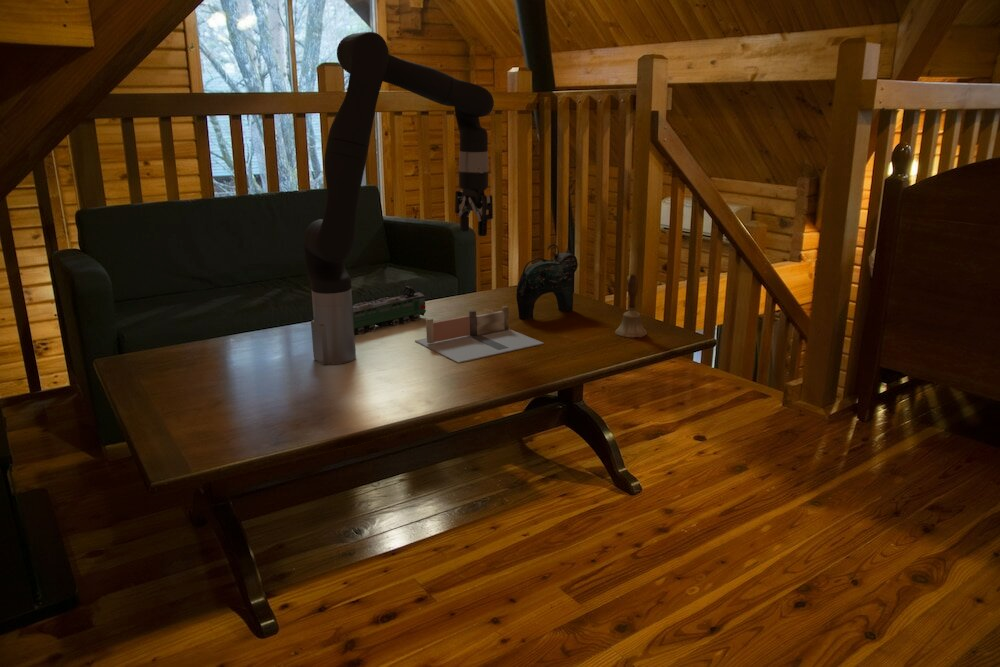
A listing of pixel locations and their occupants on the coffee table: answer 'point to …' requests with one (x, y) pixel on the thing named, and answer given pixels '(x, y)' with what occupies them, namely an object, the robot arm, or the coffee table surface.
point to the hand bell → (631, 314)
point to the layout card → (480, 345)
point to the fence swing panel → (447, 328)
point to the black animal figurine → (547, 282)
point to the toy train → (388, 311)
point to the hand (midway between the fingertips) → (473, 233)
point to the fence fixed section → (489, 321)
